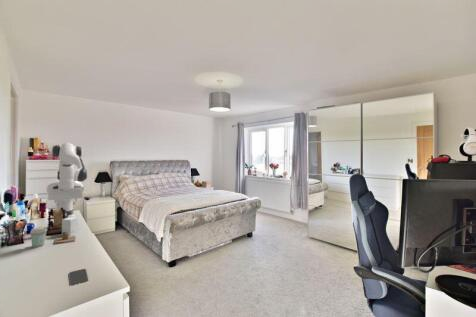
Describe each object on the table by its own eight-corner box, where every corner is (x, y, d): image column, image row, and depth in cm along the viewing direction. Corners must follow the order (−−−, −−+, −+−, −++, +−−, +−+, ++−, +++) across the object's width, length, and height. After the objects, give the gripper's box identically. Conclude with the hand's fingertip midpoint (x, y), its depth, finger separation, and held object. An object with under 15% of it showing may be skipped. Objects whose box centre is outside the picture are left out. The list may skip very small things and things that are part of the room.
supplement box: (77, 233, 178) (78, 217, 178) (70, 236, 170) (70, 219, 171) (69, 233, 179) (69, 217, 179) (61, 235, 171) (61, 219, 172)
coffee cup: (36, 249, 144) (37, 230, 144) (26, 248, 146) (26, 229, 146) (49, 244, 152) (50, 227, 153) (39, 243, 154) (40, 226, 154)
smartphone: (69, 285, 102) (68, 272, 114) (69, 287, 102) (68, 274, 114) (88, 280, 107) (86, 268, 118) (88, 282, 107) (85, 269, 118)
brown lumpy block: (48, 237, 167) (49, 210, 168) (40, 233, 175) (41, 208, 176) (71, 232, 180) (72, 207, 181) (63, 229, 188) (64, 205, 188)
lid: (56, 239, 162) (56, 231, 162) (74, 237, 168) (75, 229, 168) (54, 244, 153) (54, 235, 153) (74, 241, 159) (74, 232, 159)
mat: (55, 239, 163) (55, 239, 163) (75, 236, 169) (75, 236, 169) (53, 245, 151) (53, 245, 151) (75, 242, 158) (75, 241, 158)
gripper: (83, 185, 171) (83, 203, 170) (49, 186, 159) (48, 206, 159) (83, 185, 166) (83, 204, 165) (47, 187, 154) (47, 207, 154)
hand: (65, 205), depth 162 cm, fingers open, 8 cm apart
